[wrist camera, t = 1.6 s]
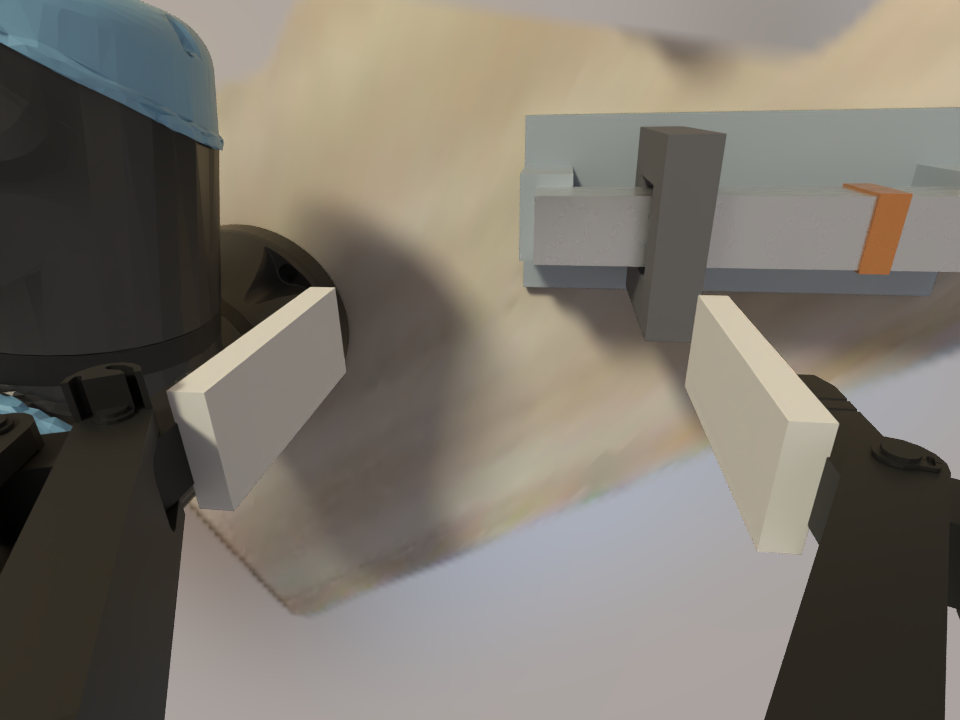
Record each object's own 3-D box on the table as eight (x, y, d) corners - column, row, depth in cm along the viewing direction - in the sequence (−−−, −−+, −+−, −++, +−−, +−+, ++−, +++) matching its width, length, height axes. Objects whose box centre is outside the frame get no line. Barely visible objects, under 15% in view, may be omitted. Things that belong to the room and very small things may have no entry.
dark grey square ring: (625, 285, 37) (644, 341, 28) (640, 126, 33) (668, 134, 24) (663, 285, 36) (694, 342, 28) (682, 126, 32) (726, 133, 24)
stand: (523, 283, 40) (518, 307, 35) (526, 115, 35) (520, 116, 30) (922, 292, 36) (976, 319, 32) (983, 107, 32) (1055, 107, 27)
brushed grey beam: (536, 251, 34) (532, 268, 30) (537, 183, 32) (534, 193, 28) (976, 257, 30) (1031, 277, 27) (1003, 182, 29) (1064, 193, 25)
